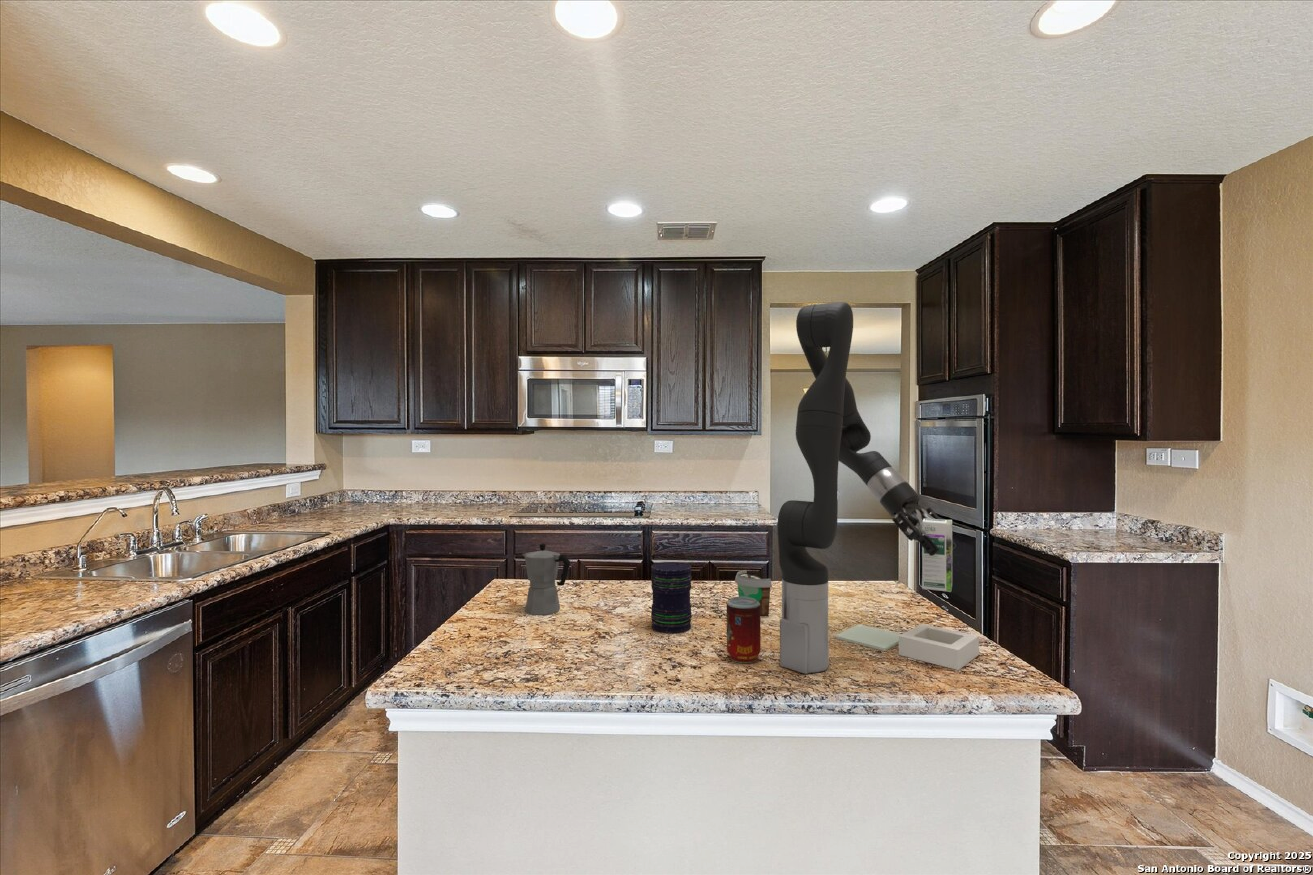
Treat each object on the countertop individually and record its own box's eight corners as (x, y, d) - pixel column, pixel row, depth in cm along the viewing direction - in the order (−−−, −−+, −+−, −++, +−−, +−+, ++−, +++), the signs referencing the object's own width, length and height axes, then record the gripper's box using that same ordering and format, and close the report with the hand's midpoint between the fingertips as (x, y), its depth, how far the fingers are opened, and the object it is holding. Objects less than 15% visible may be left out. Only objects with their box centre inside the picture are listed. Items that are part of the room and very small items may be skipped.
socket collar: (958, 670, 120) (958, 649, 120) (898, 654, 128) (898, 635, 128) (978, 654, 128) (978, 635, 128) (921, 641, 137) (921, 623, 137)
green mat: (885, 651, 130) (885, 648, 130) (834, 638, 139) (834, 635, 139) (908, 638, 139) (908, 635, 139) (859, 626, 147) (859, 624, 147)
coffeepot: (511, 612, 160) (511, 544, 160) (534, 603, 169) (534, 539, 169) (558, 620, 153) (558, 549, 153) (580, 610, 162) (579, 543, 161)
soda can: (723, 652, 130) (723, 595, 130) (755, 651, 130) (755, 594, 130) (730, 665, 123) (730, 604, 123) (764, 663, 123) (764, 604, 123)
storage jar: (675, 636, 140) (675, 572, 140) (642, 628, 146) (642, 567, 146) (699, 626, 148) (699, 565, 148) (667, 618, 154) (667, 560, 154)
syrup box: (921, 589, 127) (921, 520, 127) (923, 583, 132) (923, 517, 132) (951, 592, 124) (951, 522, 124) (952, 586, 130) (952, 518, 130)
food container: (726, 608, 163) (726, 571, 163) (745, 605, 166) (745, 569, 166) (751, 621, 152) (751, 581, 152) (772, 617, 155) (771, 578, 155)
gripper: (887, 482, 130) (941, 544, 121) (920, 479, 139) (972, 536, 130) (864, 504, 134) (915, 566, 125) (898, 500, 143) (947, 557, 134)
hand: (944, 550), depth 127 cm, fingers closed on syrup box, 7 cm apart
